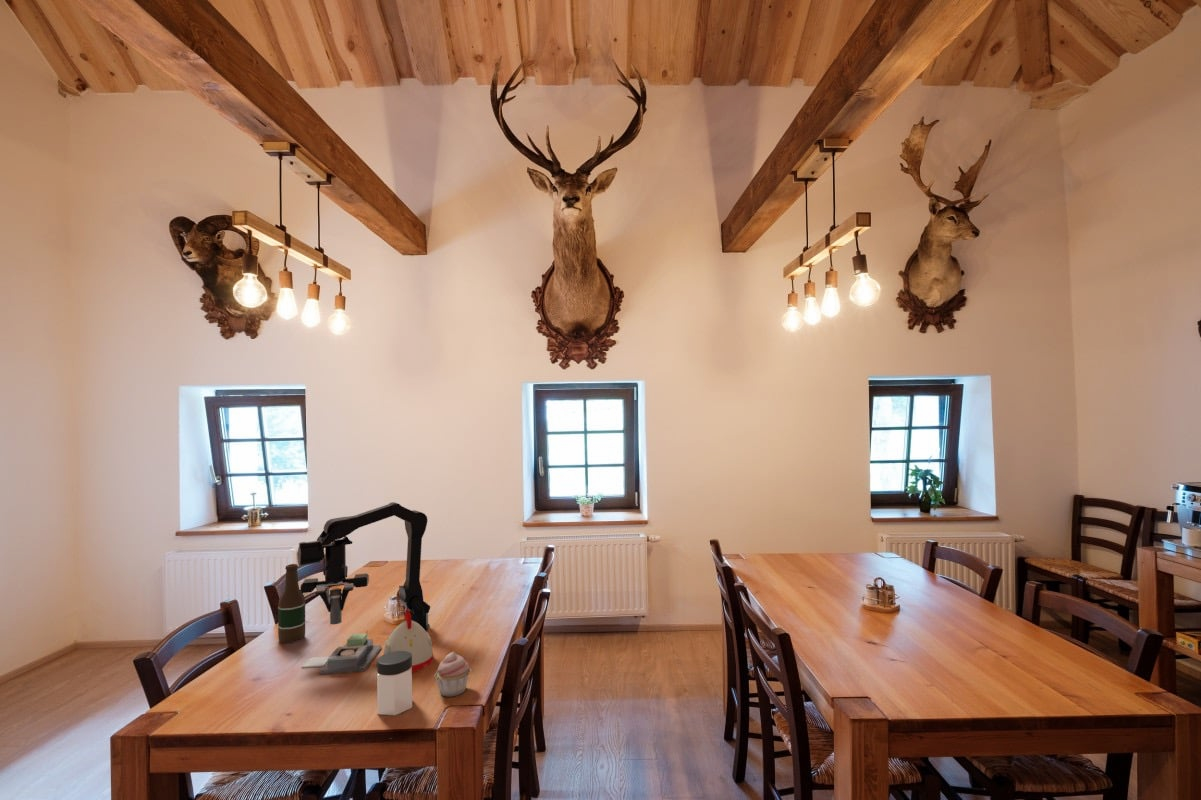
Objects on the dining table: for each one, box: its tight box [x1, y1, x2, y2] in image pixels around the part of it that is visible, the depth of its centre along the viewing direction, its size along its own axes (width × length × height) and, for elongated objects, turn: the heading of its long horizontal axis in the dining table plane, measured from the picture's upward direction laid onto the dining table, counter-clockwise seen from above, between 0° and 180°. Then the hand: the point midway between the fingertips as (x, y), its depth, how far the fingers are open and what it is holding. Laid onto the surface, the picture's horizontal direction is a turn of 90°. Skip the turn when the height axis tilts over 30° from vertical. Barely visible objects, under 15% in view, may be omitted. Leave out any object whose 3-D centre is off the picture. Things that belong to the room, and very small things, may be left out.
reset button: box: [341, 650, 354, 655], centre depth 160 cm, size 4×4×1 cm
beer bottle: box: [277, 563, 306, 644], centre depth 182 cm, size 8×8×24 cm
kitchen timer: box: [382, 609, 434, 672], centre depth 161 cm, size 14×14×15 cm
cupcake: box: [434, 651, 472, 698], centre depth 143 cm, size 9×9×10 cm
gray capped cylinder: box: [329, 587, 343, 625], centre depth 172 cm, size 4×4×10 cm
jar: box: [376, 651, 413, 717], centre depth 136 cm, size 9×8×12 cm
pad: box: [301, 656, 329, 669], centre depth 162 cm, size 6×6×1 cm
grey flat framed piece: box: [319, 638, 382, 675], centre depth 163 cm, size 12×16×4 cm
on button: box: [346, 633, 368, 646], centre depth 168 cm, size 4×4×2 cm
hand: (335, 610), depth 172 cm, fingers closed on gray capped cylinder, 3 cm apart
